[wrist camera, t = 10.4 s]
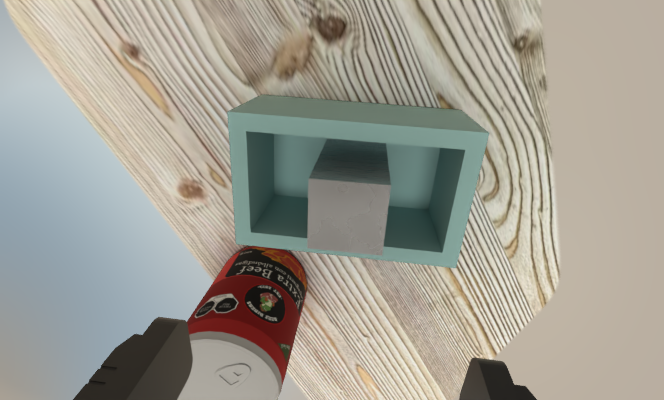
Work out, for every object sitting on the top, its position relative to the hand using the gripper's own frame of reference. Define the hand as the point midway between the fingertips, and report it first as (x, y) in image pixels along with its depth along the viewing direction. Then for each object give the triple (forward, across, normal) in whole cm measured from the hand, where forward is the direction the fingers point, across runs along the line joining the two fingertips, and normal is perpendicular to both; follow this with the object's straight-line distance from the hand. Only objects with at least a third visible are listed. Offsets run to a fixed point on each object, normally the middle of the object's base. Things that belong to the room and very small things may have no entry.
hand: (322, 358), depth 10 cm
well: (+18, 0, 0) cm, 18 cm away
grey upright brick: (+18, 0, 0) cm, 18 cm away
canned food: (+18, +7, +12) cm, 23 cm away
